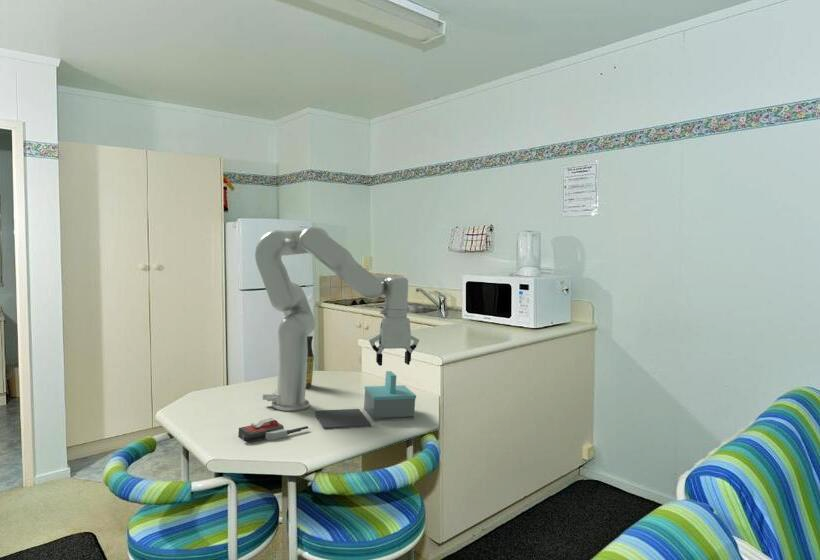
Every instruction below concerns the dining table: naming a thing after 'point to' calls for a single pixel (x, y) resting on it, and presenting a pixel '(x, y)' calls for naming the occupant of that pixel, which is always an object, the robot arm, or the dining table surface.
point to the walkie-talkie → (265, 431)
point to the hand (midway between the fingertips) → (393, 364)
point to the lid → (389, 390)
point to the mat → (342, 418)
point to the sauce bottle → (309, 361)
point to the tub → (389, 408)
